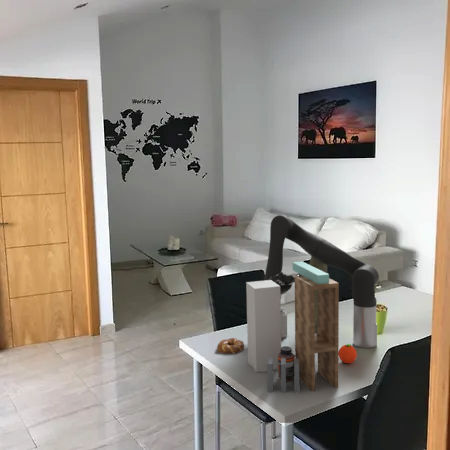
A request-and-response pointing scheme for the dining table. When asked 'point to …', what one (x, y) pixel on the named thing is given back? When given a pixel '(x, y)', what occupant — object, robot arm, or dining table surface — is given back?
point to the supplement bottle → (286, 353)
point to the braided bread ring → (230, 346)
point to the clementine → (347, 353)
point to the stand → (326, 330)
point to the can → (283, 323)
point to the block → (311, 272)
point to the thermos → (323, 268)
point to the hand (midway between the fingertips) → (293, 273)
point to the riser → (263, 323)
